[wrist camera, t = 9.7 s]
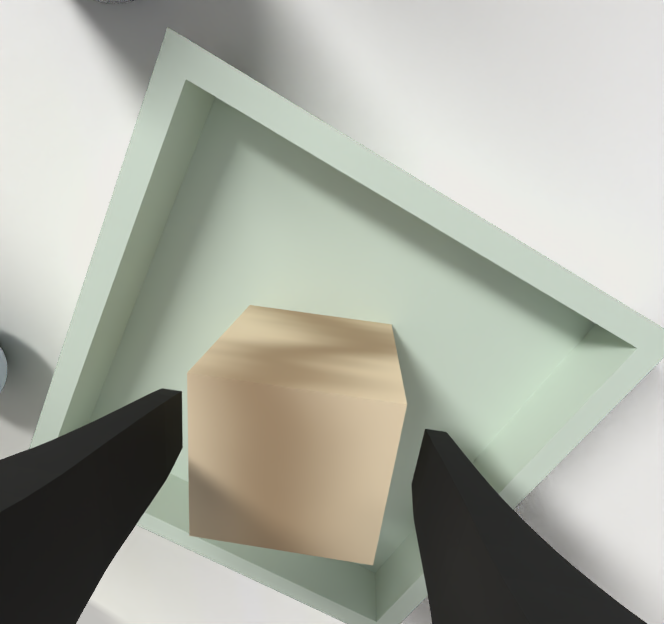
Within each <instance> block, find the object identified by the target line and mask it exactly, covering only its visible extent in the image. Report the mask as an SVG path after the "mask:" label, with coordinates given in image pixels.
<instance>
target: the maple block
mask: <svg viewBox="0 0 664 624" xmlns="http://www.w3.org/2000/svg"><path fill="white" fill-rule="evenodd" d="M187 405H188V479H189V536H193V537H200V538H206V539H212V540H218V541H224V542H231V543H237V544H243V545H249V546H255V547H262V548H268V549H274V550H280V551H287V552H293V553H299V554H305V555H311V556H318V557H324V558H330V559H336V560H342V561H349V562H355V563H361V564H367V565H373V563H374V558H375V554H376V549H377V544H378V540H379V535H380V530H381V525H382V521H383V516H384V511H385V507H386V502H387V497H388V493H389V488H390V483H391V478H392V474H393V469H394V464H395V460H396V455H397V450H398V445H399V441H400V436H401V431H402V427H403V422H404V417H405V413H406V408H407V401H406V396H405V391H404V386H403V380H402V375H401V370H400V365H399V360H398V355H397V350H396V344H395V339H394V334H393V329H392V324H385V323H378V322H371V321H363V320H356V319H349V318H342V317H334V316H327V315H320V314H312V313H305V312H298V311H290V310H283V309H276V308H269V307H261V306H254V305H249V306H248V307H247V309H246V310H245V311H244V312H243V313H242V314H241V315H240V316H239V317H238V318H237V319H236V320H235V321H234V323H233V324H232V325H231V326H230V327H229V328H228V329H227V330H226V331H225V332H224V333H223V334H222V336H221V337H220V338H219V339H218V340H217V341H216V342H215V343H214V344H213V345H212V346H211V347H210V348H209V350H208V351H207V352H206V353H205V354H204V355H203V356H202V357H201V358H200V359H199V360H198V361H197V363H196V364H195V365H194V366H193V367H192V368H191V369H190V370H189V371H188V372H187Z"/></svg>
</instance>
